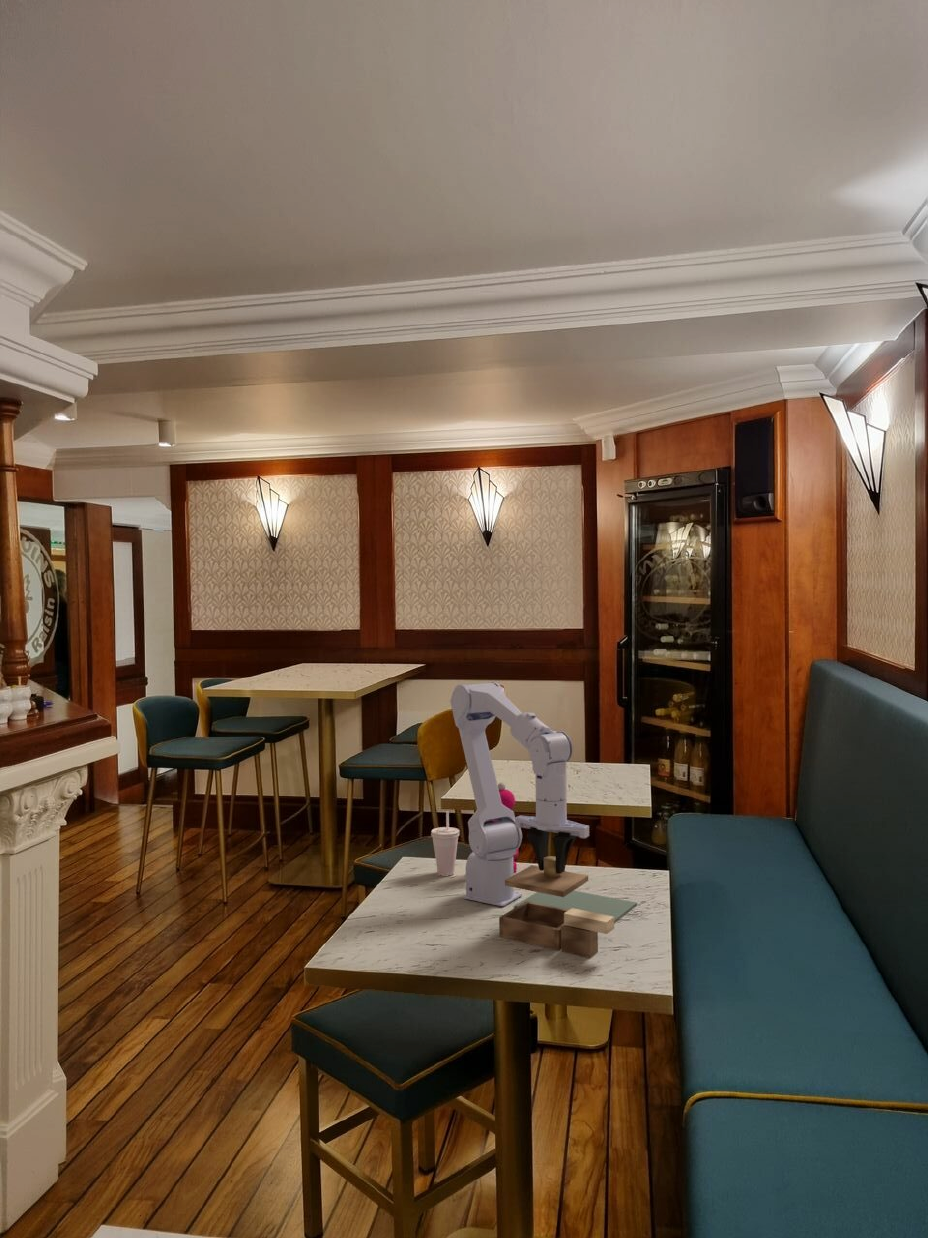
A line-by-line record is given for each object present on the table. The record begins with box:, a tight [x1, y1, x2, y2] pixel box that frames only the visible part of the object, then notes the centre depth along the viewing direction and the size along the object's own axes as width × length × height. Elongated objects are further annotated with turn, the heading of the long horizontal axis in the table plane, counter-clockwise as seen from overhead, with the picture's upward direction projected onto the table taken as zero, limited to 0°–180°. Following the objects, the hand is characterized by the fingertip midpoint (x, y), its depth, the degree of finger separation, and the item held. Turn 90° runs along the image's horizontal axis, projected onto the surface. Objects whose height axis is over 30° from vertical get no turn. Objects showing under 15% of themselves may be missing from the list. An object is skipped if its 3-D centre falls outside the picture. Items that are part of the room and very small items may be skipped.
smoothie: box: [430, 810, 460, 877], centre depth 194 cm, size 6×6×14 cm
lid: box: [505, 855, 589, 897], centre depth 160 cm, size 12×10×4 cm
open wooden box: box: [498, 901, 599, 959], centre depth 156 cm, size 18×10×4 cm, turn 57°
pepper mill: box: [492, 782, 519, 873], centre depth 195 cm, size 7×7×20 cm
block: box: [564, 908, 615, 935], centre depth 149 cm, size 8×3×2 cm, turn 57°
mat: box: [513, 890, 638, 924], centre depth 172 cm, size 20×14×1 cm
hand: (551, 870), depth 162 cm, fingers closed on lid, 3 cm apart
